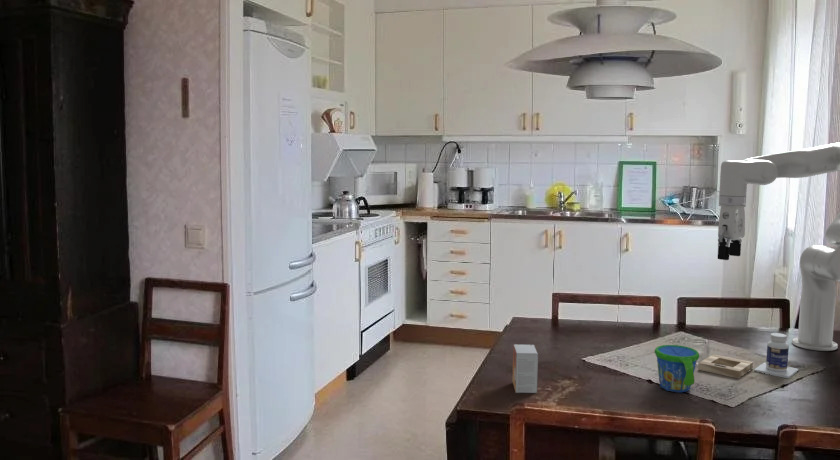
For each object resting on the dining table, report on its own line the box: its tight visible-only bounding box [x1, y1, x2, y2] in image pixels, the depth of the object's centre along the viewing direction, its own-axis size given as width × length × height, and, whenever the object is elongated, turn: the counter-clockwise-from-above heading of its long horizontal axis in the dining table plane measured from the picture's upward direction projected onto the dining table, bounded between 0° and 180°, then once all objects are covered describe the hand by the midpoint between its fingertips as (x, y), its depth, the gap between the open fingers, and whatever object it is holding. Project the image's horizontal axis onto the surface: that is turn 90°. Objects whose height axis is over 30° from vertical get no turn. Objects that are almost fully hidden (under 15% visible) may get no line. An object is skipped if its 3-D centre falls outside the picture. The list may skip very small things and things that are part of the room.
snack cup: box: [654, 344, 700, 393], centre depth 189 cm, size 16×10×10 cm
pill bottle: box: [765, 332, 790, 371], centre depth 204 cm, size 5×5×10 cm
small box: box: [511, 343, 539, 394], centre depth 189 cm, size 8×6×10 cm
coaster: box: [753, 361, 800, 379], centre depth 204 cm, size 9×9×1 cm
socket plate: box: [698, 354, 754, 379], centre depth 205 cm, size 11×11×2 cm
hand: (729, 257), depth 223 cm, fingers open, 9 cm apart
